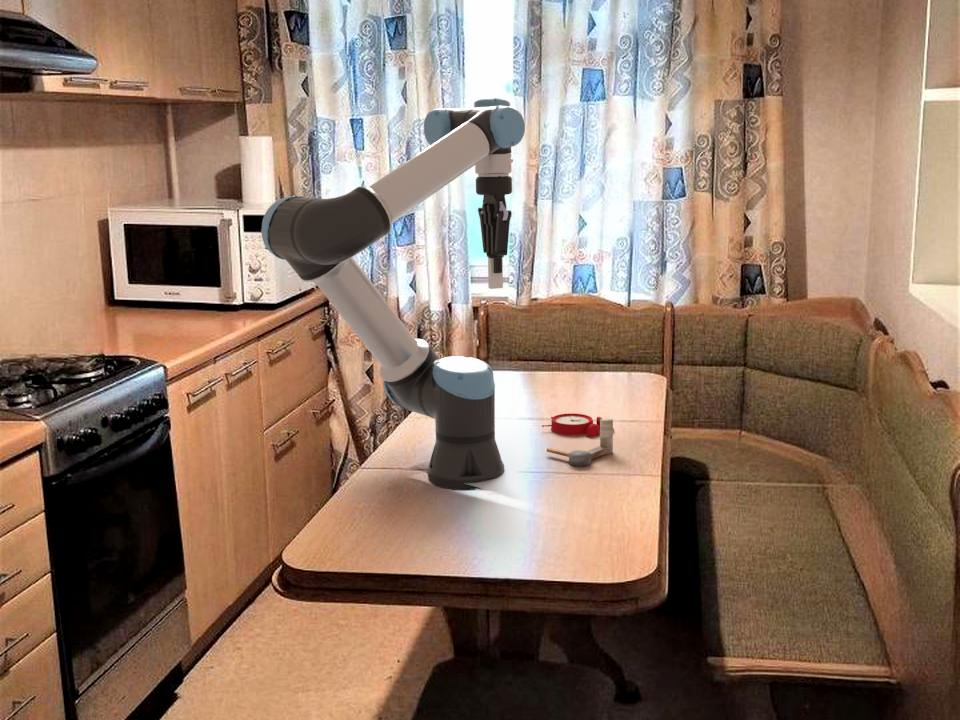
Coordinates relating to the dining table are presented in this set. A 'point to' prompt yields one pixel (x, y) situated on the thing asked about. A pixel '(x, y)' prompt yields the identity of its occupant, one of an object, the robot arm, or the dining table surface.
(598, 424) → the alarm clock
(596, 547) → the dining table surface
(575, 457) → the peg lever
